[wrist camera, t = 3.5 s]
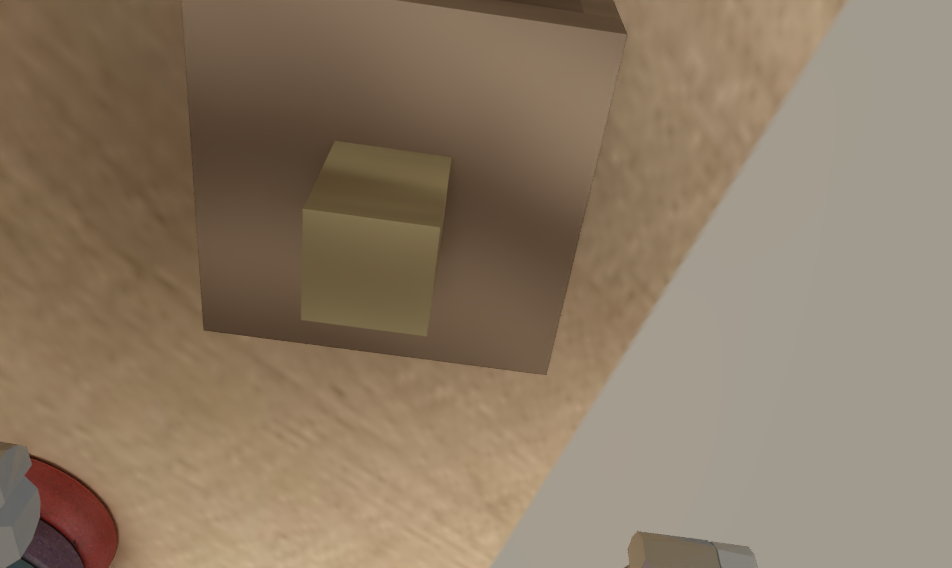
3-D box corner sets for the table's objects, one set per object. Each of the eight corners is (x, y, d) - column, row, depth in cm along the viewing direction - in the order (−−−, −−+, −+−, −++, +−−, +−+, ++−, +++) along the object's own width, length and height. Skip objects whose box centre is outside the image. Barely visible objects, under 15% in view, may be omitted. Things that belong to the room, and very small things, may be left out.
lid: (545, 346, 22) (551, 464, 18) (218, 304, 22) (157, 415, 18) (621, 18, 17) (649, 88, 13) (199, -45, 17) (110, 9, 13)
